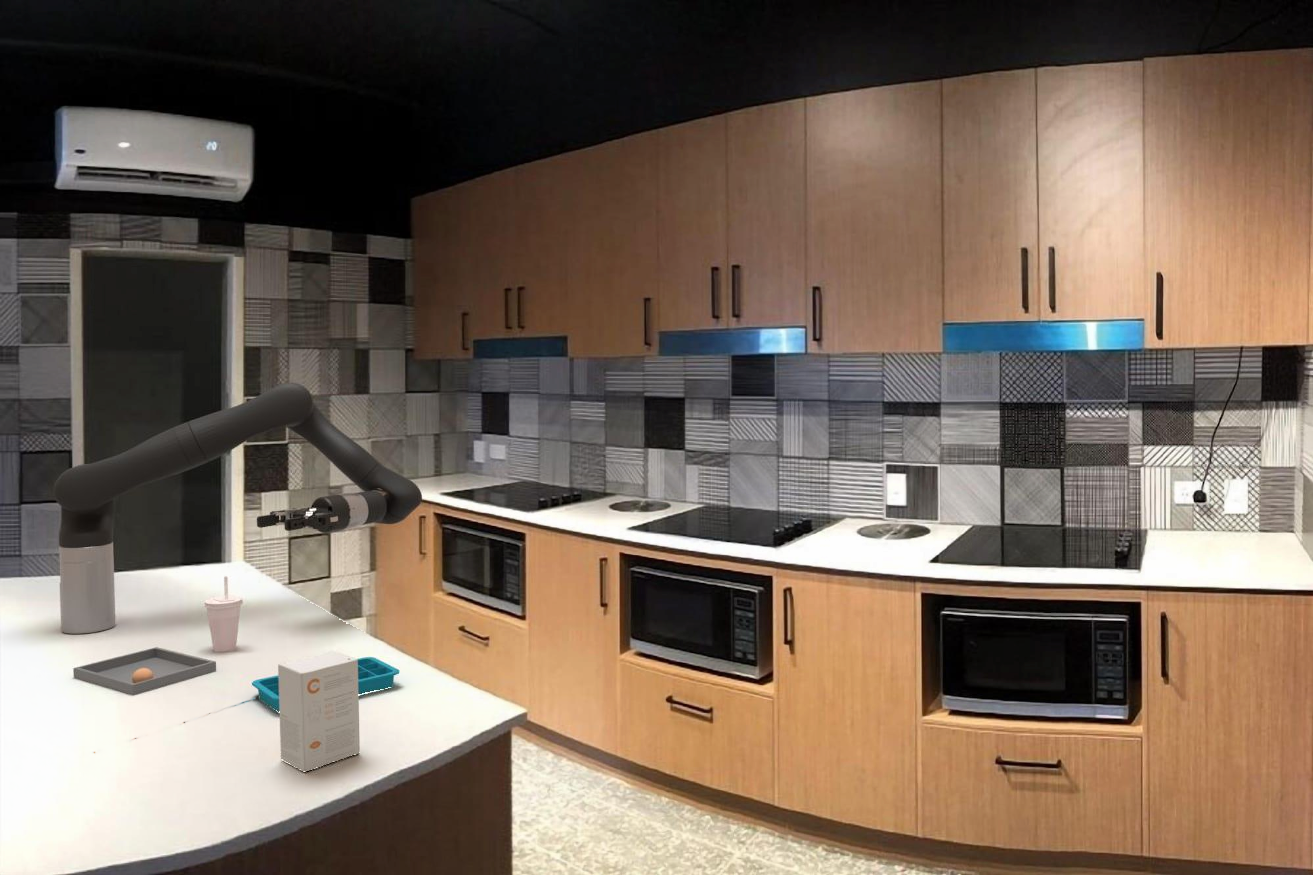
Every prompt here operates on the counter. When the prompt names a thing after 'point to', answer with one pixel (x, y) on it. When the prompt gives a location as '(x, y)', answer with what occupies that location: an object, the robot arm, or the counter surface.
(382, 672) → the ice cube tray
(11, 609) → the counter surface
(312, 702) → the small box
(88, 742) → the counter surface
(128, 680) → the tray
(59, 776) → the counter surface
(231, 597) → the smoothie
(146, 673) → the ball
